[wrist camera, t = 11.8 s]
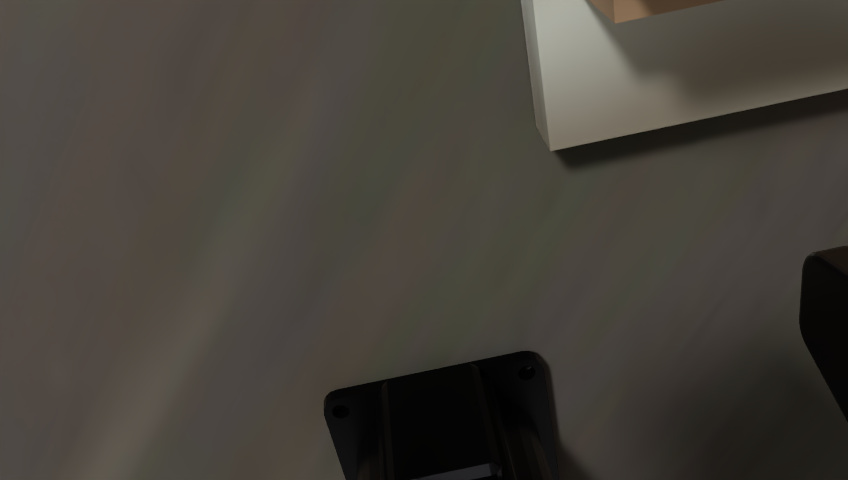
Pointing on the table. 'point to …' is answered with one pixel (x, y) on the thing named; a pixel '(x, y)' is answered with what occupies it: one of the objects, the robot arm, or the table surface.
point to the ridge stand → (675, 61)
